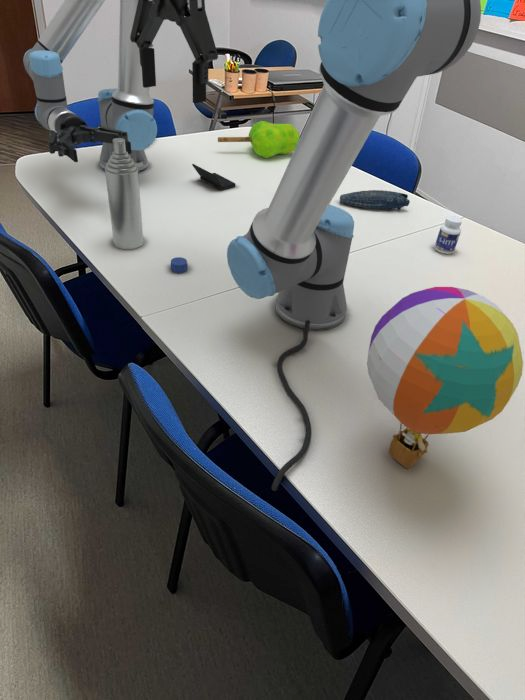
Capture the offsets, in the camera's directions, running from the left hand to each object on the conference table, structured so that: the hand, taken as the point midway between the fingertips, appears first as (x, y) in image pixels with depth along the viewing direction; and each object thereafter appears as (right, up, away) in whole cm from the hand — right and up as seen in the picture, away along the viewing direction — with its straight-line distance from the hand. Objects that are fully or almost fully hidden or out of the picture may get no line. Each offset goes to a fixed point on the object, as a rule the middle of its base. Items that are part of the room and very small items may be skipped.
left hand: (103, 152), depth 124 cm
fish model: (+72, -3, +37) cm, 81 cm away
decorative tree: (+36, +25, +67) cm, 80 cm away
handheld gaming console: (+22, +5, +41) cm, 47 cm away
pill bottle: (+87, -20, +17) cm, 91 cm away
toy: (+60, -64, -42) cm, 98 cm away
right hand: (+21, +1, -25) cm, 33 cm away
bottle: (+4, -20, +7) cm, 22 cm away
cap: (+18, -27, -2) cm, 33 cm away
